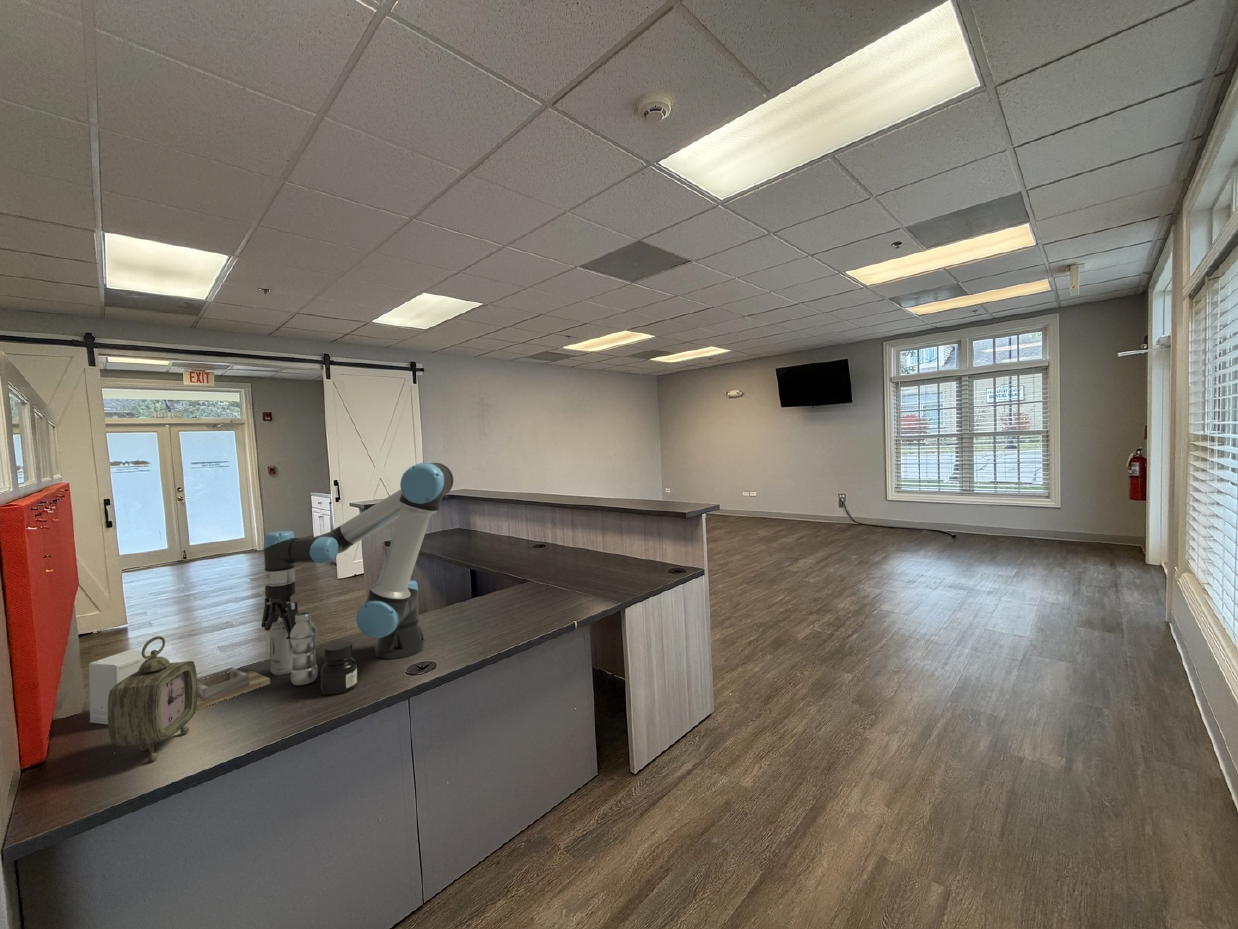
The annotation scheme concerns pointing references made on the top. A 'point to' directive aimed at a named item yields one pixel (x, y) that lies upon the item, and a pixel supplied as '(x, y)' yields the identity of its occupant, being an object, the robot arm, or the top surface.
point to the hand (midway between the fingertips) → (282, 654)
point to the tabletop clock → (152, 702)
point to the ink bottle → (338, 669)
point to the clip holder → (226, 685)
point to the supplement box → (110, 680)
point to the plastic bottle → (303, 650)
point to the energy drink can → (279, 649)
